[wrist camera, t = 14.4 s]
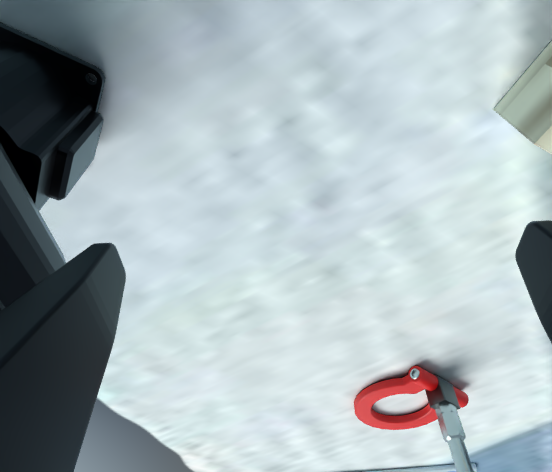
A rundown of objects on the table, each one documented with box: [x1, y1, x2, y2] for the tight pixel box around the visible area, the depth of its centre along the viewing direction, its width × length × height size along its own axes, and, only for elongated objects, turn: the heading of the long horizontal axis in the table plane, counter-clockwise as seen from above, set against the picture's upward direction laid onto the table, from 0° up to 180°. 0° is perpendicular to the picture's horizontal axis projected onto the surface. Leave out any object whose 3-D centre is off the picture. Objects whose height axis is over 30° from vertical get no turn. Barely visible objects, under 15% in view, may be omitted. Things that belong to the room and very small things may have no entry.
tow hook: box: [354, 366, 474, 472], centre depth 33 cm, size 8×13×9 cm
